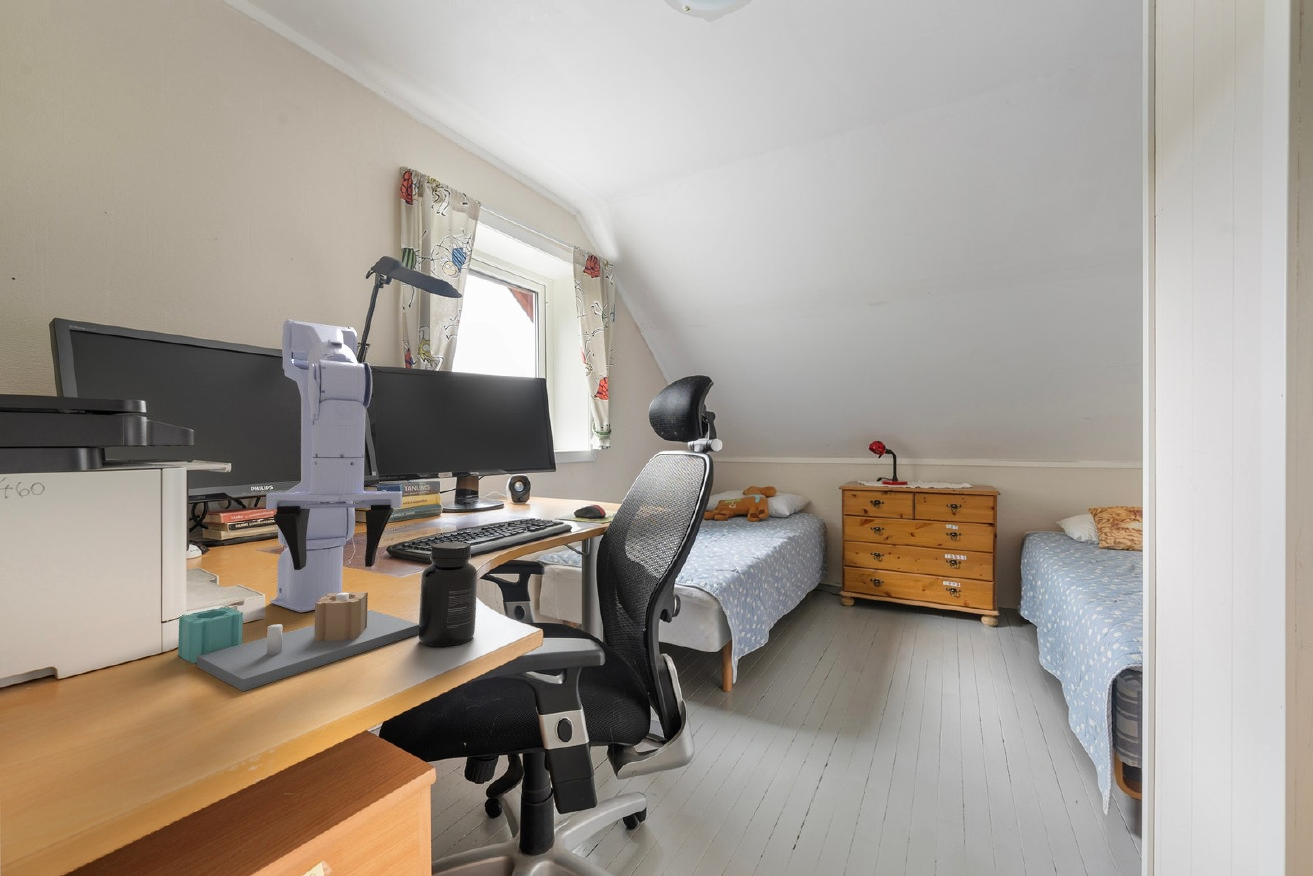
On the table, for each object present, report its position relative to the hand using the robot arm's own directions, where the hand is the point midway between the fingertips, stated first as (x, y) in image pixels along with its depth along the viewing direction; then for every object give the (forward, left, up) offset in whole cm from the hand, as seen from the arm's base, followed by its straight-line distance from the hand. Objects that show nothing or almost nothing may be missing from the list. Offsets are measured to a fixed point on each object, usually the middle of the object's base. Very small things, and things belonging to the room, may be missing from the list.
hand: (335, 566), depth 67 cm
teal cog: (-9, -9, -10) cm, 16 cm away
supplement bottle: (+10, +9, -10) cm, 16 cm away
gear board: (0, -2, -10) cm, 10 cm away
